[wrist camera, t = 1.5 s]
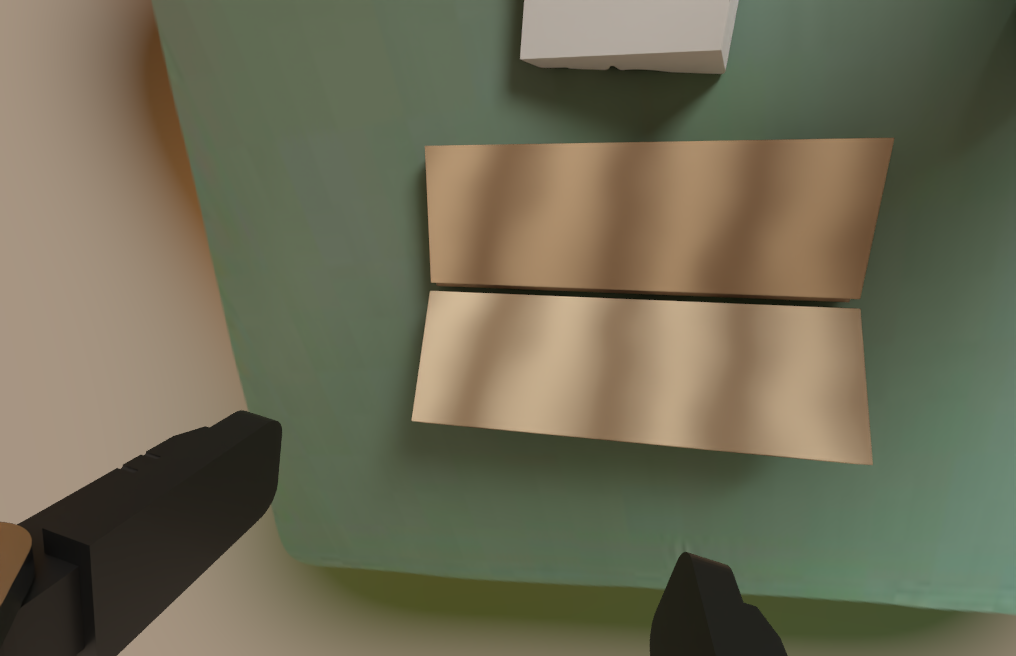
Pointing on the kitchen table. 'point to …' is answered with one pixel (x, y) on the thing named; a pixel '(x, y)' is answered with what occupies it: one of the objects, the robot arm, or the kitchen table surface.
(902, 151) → the kitchen table surface
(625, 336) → the oak plank
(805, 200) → the laid plank
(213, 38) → the kitchen table surface
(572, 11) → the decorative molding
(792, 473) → the kitchen table surface
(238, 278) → the kitchen table surface
